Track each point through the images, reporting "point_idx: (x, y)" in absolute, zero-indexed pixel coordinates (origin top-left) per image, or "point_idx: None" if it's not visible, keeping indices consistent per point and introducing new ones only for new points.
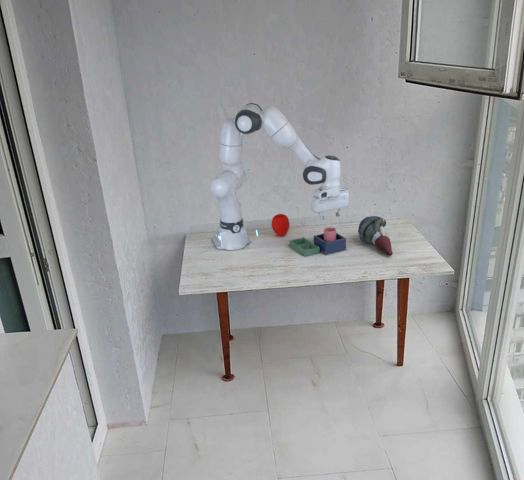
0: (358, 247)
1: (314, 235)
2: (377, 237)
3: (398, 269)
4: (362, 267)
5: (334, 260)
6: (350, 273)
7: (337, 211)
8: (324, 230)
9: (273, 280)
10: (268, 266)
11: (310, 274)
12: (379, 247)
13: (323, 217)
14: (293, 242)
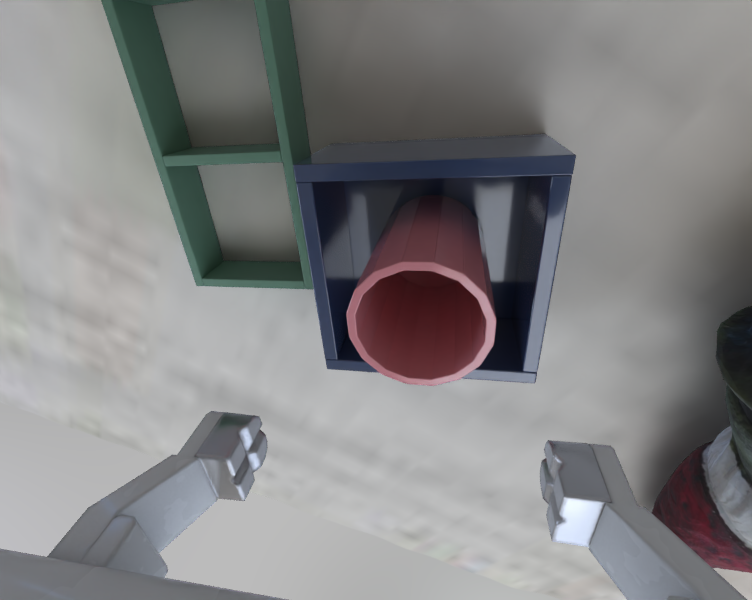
0: (636, 332)
1: (302, 165)
2: (737, 529)
3: (563, 582)
4: (441, 506)
5: (361, 395)
6: (359, 510)
7: (621, 516)
8: (347, 318)
9: (43, 402)
10: (3, 277)
11: None
12: (666, 506)
13: (244, 482)
14: (130, 66)
